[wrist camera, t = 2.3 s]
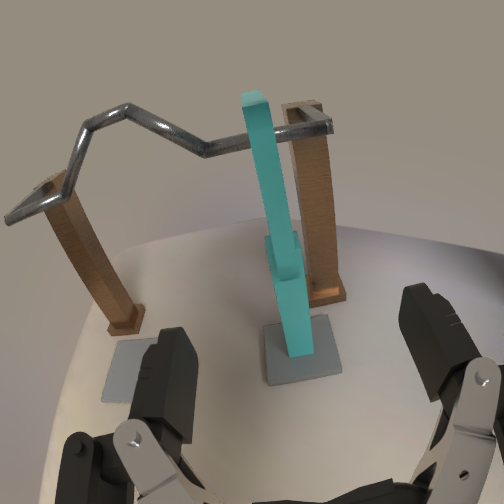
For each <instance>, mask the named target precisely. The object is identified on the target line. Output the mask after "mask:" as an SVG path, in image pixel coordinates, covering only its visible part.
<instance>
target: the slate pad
mask: <svg viewBox="0 0 504 504" xmlns="http://www.w3.org/2000/svg"><path fill="white" fill-rule="evenodd" d="M157 341H158V338H151V339H140V340H129V341H118V343H117V346H116V349H115V353H114V356H113V359H112V362H111V366H110V369H109V372H108V376H107V379H106V383H105V386H104V390H103V393H102V397H101V401H102V402H115V403H132V400H133V396H134V391H135V387H136V383H137V380H138V374H139V370H140V366H141V362H142V358H143V355H144V353H145V352H146V350H147V349H148V348H149V346H150V345H151V344H157Z"/></svg>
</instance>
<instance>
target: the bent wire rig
mask: <svg viewBox="0 0 504 504" xmlns="http://www.w3.org/2000/svg"><path fill="white" fill-rule="evenodd" d="M281 106H282V111H283V116H284V121H285V126H279V127H274V133H275V138H276V143H280V142H286V141H288V143H289V148H290V153H291V160H292V165H293V171H294V177H295V183H296V190H297V196H298V202H299V208H300V216H301V223H302V230H303V237H304V244H305V252H306V259H307V267H308V275H306V276H305V279H306V287H307V295H308V303H309V308H313V307H318V306H323V305H328V304H333V303H338V302H342V301H346V291H345V289H344V286H343V284H342V281H341V279H340V276H339V273H338V256H337V239H336V224H335V212H334V200H333V189H332V179H331V169H330V161H329V152H328V144H327V137H326V135H329V134H334V131H333V123H332V118H330V117H329V116H327V115H325V114H324V113H323V109H322V104H321V103H319V102H317V101H315V100H308V101H301V102H294V103H288V104H282V105H281ZM124 119H128V120H130V121H132V122H134V123H136V124H138V125H140V126H142V127H144V128H146V129H148V130H150V131H152V132H154V133H156V134H158V135H160V136H162V137H164V138H166V139H168V140H169V141H171V142H173V143H175V144H177V145H179V146H181V147H183V148H185V149H187V150H188V151H190V152H192V153H194V154H196V155H198V156H199V157H201V158H210V157H214V156H218V155H223V154H227V153H231V152H236V151H241V150H245V149H250V148H251V144H250V140H249V135H248V133H244V134H239V135H234V136H230V137H226V138H221V139H217V140H213V141H209V142H206V141H204V140H202V139H200V138H198V137H196V136H195V135H193V134H191V133H189V132H187V131H185V130H183V129H181V128H180V127H178V126H176V125H174V124H172V123H170V122H168V121H166V120H164V119H162V118H160V117H158V116H156V115H154V114H152V113H150V112H148V111H146V110H144V109H142V108H140V107H138V106H136V105H134V104H132V103H124V104H122V105H119V106H117V107H115V108H112V109H110V110H107V111H105V112H103V113H100V114H98V115H96V116H93V117H91V118H89V119H87V120H85V121H84V122H83V124H82V126H81V129H80V131H79V134H78V137H77V140H76V142H75V146H74V148H73V151H72V155H71V157H70V161H69V164H68V167H67V170H63V171H61V172H59V173H56V174H55V175H52V176H50V177H48V178H47V179H45V180H44V181H43V182H41V183H40V184H39V185H38V186H37V187H35V188H34V191H33V192H32V193H30V194H29V195H28V196H27V197H26V198H24V199H23V200H22V201H21V202H20V203H19V204H18V205H16V207H14V208H13V209H12V210H11V211H10V212H9V213H8V214H6V215H5V216H4V218H5V219H4V222H5V224H6V225H7V226H11V225H13V224H15V223H18V222H20V221H22V220H24V219H27V218H29V217H31V216H34V215H36V214H38V213H41V212H43V211H44V212H45V214H46V216H47V218H48V220H49V222H50V224H51V226H52V228H53V230H54V232H55V234H56V236H57V238H58V240H59V241H60V243H61V245H62V247H63V249H64V251H65V252H66V254H67V256H68V258H69V259H70V261H71V263H72V264H73V266H74V268H75V269H76V271H77V273H78V274H79V276H80V278H81V279H82V281H83V282H84V284H85V286H86V287H87V289H88V290H89V292H90V294H91V295H92V297H93V298H94V300H95V301H96V303H97V304H98V306H99V307H100V309H101V310H102V312H103V313H104V315H105V316H106V317H107V319H108V320H109V322H110V324H109V327H108V330H107V331H108V332H109V334H110V335H111V336H120V335H131V334H139V330H140V327H141V323H142V320H143V317H144V313H145V308H144V306H143V305H142V304H136V305H134V303H133V301H132V300H131V298H130V296H129V295H128V293H127V291H126V290H125V288H124V286H123V285H122V283H121V281H120V279H119V278H118V276H117V274H116V272H115V270H114V269H113V267H112V265H111V263H110V261H109V260H108V258H107V256H106V254H105V252H104V250H103V248H102V246H101V244H100V242H99V240H98V239H97V237H96V234H95V232H94V231H93V229H92V226H91V224H90V222H89V220H88V218H87V216H86V214H85V212H84V210H83V208H82V205H81V203H80V201H79V199H78V196H77V194H76V192H75V190H74V188H75V185H76V181H77V178H78V175H79V172H80V169H81V166H82V163H83V160H84V157H85V154H86V152H87V149H88V146H89V144H90V141H91V138H92V136H93V133H94V132H95V131H97V130H100V129H102V128H104V127H107V126H109V125H112V124H114V123H117V122H119V121H122V120H124Z"/></svg>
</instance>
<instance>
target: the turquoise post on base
mask: <svg viewBox="0 0 504 504" xmlns="http://www.w3.org/2000/svg"><path fill="white" fill-rule="evenodd" d="M242 110H243V114H244V118H245V122H246V127H247V131H248V135H249V140H250V144H251V148H252V153H253V157H254V162H255V166H256V170H257V175H258V180H259V184H260V189H261V193H262V198H263V203H264V207H265V211H266V216H267V221H268V226H269V230H270V235H271V236H266V237H265V243H266V251H267V257H268V262H269V266H270V271H271V275H272V280H273V284H274V289H275V293H276V298H277V302H278V307H279V311H280V316H281V321H282V323H279V324H273V325H267V326H263V327H264V340H265V353H266V366H267V380H268V384H269V386H274V385H280V384H287V383H293V382H299V381H304V380H310V379H315V378H320V377H325V376H330V375H334V374H339V373H342V366H341V362H340V358H339V354H338V350H337V347H336V343H335V339H334V336H333V332H332V328H331V325H330V321H329V318H328V314H326V315H321V316H316V317H311V318H310V312H309V303H308V295H307V287H306V279H305V272H304V264H303V257H302V250H301V246H300V242H299V239H298V235H297V232H296V231H292V226H291V220H290V214H289V209H288V204H287V197H286V191H285V186H284V180H283V175H282V169H281V164H280V159H279V153H278V148H277V143H276V138H275V133H274V128H273V123H272V119H271V113H270V109H269V104H268V101H267V100H266V99H265V97H264V96H263V95H262V94H261V92H260V91H259V90H255V91H250V92H245V93H242Z"/></svg>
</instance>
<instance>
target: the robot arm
mask: <svg viewBox="0 0 504 504" xmlns="http://www.w3.org/2000/svg"><path fill="white" fill-rule="evenodd" d="M399 327H400V330H401V333H402V335H403V337H404V339H405V341H406V344H407V346H408V348H409V350H410V353H411V355H412V357H413V360H414V362H415V364H416V367H417V369H418V372H419V374H420V376H421V379H422V381H423V384H424V386H425V389H426V392H427V394H428V397H429V399H430V402H434V401H436V400H439V399H440V400H441V402H442V407H441V410H440V413H439V416H438V419H437V422H436V425H435V428H434V431H433V433H432V436H431V439H430V441H429V444H428V447H427V449H426V452H425V454H424V455H423V457H422V459H421V460H420V462H419V464H418V465H417V467H416V469H415V471H414V473H413V476H412V478H411V480H410V482H409V483H399V482H395V483H393V480H392V478H391V479H388V480H384V481H381V482H377V483H374V484H370V485H366V486H362V487H359V488H357V489H355V490H353V491H350V492H348V493H346V494H344V495H342V496H339V497H337V498H335V499H333V500H330V501H328V502H324V503H316V502H302V501H291V500H282V501H271V502H255V503H252V504H477V503H478V500H479V498H480V495H481V492H482V489H483V487H484V484H485V481H486V478H487V475H488V472H489V468H490V465H491V462H492V458H493V454H494V451H495V447H496V438H497V441H498V445H499V448H500V452H501V456H502V459H503V463H504V365H497V364H496V363H495V362H494V361H493V360H491V359H489V358H485V357H482V356H481V354H480V353H479V351H478V349H477V347H476V346H475V344H474V342H473V340H472V339H471V337H470V335H469V333H468V332H467V330H466V328H465V327H464V325H463V323H461V320H460V318H459V317H458V315H457V314H456V313H455V310H454V309H453V307H452V306H451V304H450V303H449V301H448V300H446V299H445V298H444V297H442V296H441V295H440V294H438V293H437V294H434V295H433V294H432V292H431V291H430V289H429V288H428V286H427V285H426V284H425V283H419V284H415V285H411V286H407V287H405V288H404V290H403V295H402V300H401V306H400V311H399ZM197 377H198V357H197V353H196V351H195V349H194V347H193V345H192V344H191V342H190V340H189V338H188V336H187V334H186V333H185V331H184V329H183V328H182V327H175V328H166V329H161V330H160V333H159V337H158V341H157V344H151V345H150V346H149V348H148V349H147V350H146V352H145V353H144V355H143V358H142V362H141V366H140V370H139V374H138V380H137V383H136V387H135V391H134V396H133V400H132V405H131V410H130V414H129V417H128V420H126V421H124V422H123V423H121V424H120V425H119V426H118V427H117V429H116V430H115V432H114V433H111V434H107V435H102V436H98V437H94V438H92V437H91V436H89V435H88V434H87V433H84V432H75V433H73V434H72V435H70V436H69V437H68V438H67V440H66V442H65V444H64V448H63V453H62V459H61V464H60V470H59V476H58V483H57V490H56V497H55V504H134V486H136V488H137V490H138V492H139V494H140V496H139V497H138V500H137V501H138V504H224V503H223V502H222V501H221V500H220V499H219V498H218V497H217V496H216V495H215V494H214V493H212V492H211V491H210V490H209V488H208V487H207V486H206V485H205V484H204V482H203V481H202V480H201V479H200V477H199V476H198V475H197V473H196V472H195V471H194V470H193V468H192V467H191V466H190V464H189V463H188V462H187V460H186V459H185V457H184V456H183V455H182V453H181V445H182V444H192V433H193V420H194V409H195V397H196V387H197ZM493 428H494V432H495V435H496V436H495V435H493V434H492V429H493Z"/></svg>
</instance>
